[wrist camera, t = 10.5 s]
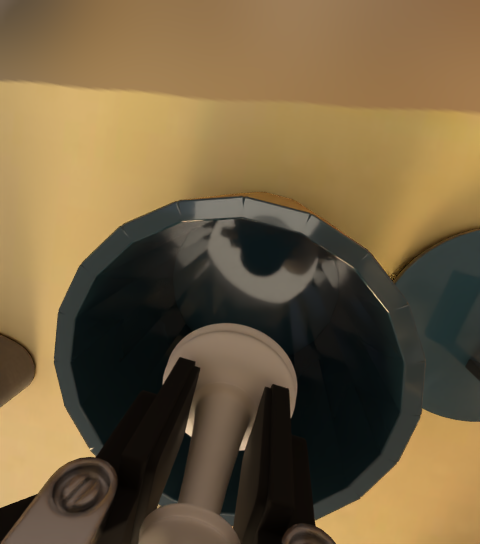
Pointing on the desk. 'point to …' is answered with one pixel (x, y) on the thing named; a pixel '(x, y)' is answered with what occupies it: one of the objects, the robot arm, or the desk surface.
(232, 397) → the chess piece
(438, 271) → the lid
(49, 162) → the desk surface
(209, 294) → the pot
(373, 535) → the desk surface
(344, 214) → the desk surface
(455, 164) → the desk surface
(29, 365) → the flask
